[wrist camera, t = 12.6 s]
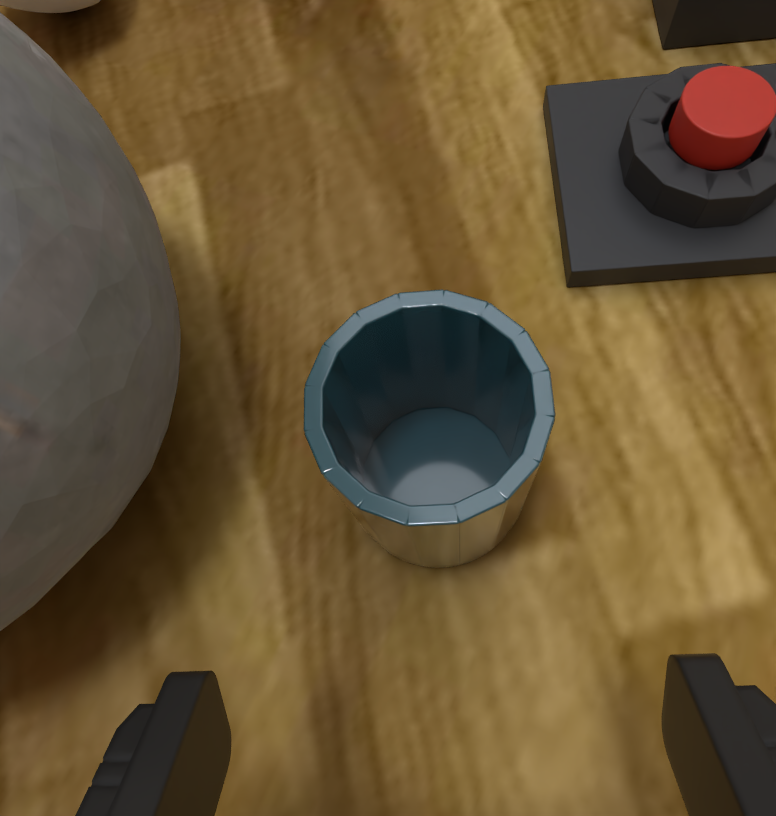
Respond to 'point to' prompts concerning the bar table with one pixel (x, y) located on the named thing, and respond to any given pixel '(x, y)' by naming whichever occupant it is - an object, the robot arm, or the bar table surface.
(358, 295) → the bar table surface
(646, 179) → the pad
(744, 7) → the scale
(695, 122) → the button
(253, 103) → the bar table surface
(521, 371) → the cup
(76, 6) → the headphones
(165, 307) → the bowl
